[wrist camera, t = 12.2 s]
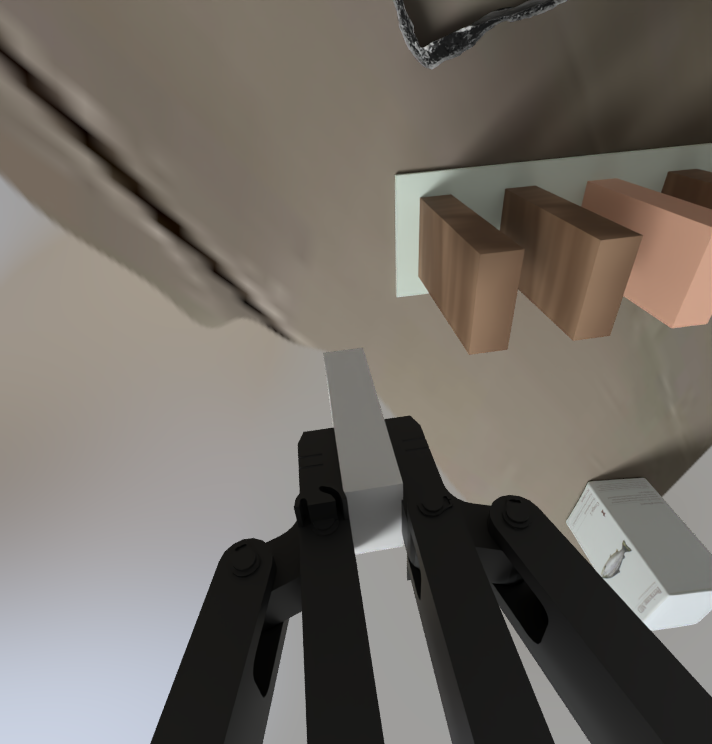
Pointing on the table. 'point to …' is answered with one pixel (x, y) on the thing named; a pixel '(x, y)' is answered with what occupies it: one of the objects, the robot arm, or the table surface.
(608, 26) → the table surface
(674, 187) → the domino
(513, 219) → the domino
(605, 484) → the supplement box
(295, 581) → the robot arm
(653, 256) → the domino
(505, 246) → the domino
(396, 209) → the runner
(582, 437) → the table surface
